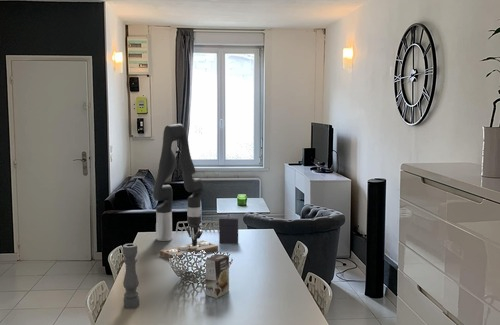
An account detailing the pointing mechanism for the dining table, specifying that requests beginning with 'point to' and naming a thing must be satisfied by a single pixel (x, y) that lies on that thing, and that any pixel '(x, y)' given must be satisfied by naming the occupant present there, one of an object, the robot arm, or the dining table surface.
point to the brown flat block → (207, 249)
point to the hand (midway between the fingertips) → (194, 245)
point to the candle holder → (130, 277)
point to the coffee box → (217, 275)
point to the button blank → (184, 248)
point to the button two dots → (173, 251)
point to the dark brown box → (228, 230)
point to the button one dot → (204, 244)
